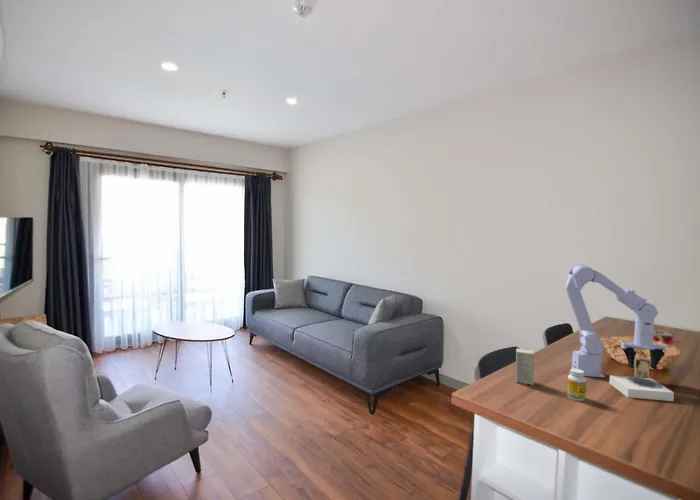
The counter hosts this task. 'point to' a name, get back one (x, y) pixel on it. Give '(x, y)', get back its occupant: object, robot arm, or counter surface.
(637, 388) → the plate
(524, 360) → the skincare box
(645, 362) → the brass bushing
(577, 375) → the supplement bottle
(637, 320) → the robot arm
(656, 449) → the counter surface
